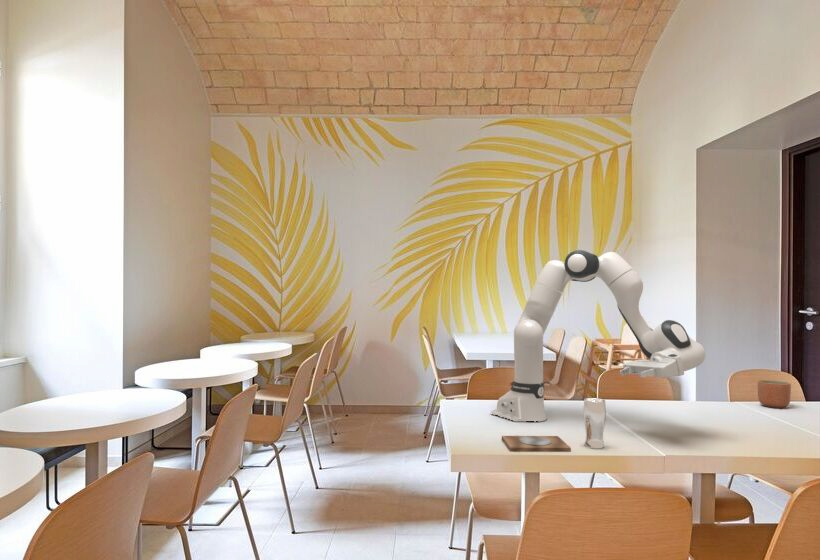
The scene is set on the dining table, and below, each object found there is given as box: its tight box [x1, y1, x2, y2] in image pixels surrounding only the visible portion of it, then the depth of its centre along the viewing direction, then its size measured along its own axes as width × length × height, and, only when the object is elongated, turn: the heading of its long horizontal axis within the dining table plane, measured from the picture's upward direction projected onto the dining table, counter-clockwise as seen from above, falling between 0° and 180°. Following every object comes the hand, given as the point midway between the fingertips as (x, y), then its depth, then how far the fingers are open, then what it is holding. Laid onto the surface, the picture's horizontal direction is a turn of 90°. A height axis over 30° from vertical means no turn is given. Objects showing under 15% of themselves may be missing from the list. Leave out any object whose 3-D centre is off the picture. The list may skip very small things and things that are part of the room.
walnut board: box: [501, 435, 572, 453], centre depth 182 cm, size 19×14×2 cm
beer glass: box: [582, 397, 607, 450], centre depth 181 cm, size 7×7×15 cm
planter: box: [757, 379, 792, 409], centre depth 248 cm, size 12×12×11 cm
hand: (630, 374), depth 188 cm, fingers open, 8 cm apart
